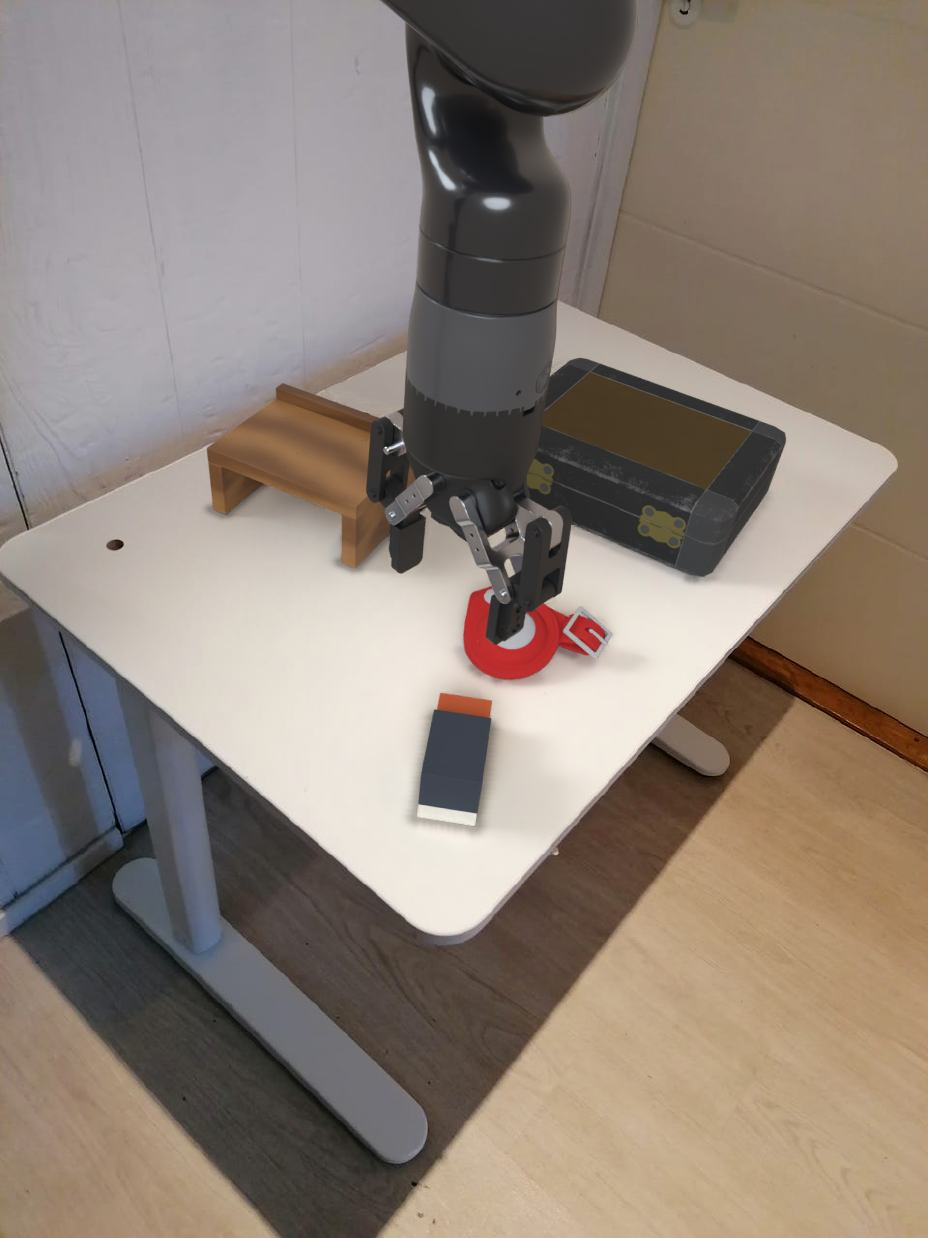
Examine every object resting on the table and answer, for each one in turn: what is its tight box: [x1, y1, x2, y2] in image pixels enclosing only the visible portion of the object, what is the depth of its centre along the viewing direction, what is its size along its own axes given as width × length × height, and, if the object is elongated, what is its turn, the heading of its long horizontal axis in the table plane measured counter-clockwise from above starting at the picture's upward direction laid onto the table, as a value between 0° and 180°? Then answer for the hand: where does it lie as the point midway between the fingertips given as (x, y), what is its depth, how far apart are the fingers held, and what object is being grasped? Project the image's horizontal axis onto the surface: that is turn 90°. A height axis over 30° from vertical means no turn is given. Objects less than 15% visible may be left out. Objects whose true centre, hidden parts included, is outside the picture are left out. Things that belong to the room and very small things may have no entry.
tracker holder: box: [462, 585, 614, 681], centre depth 83 cm, size 12×4×10 cm
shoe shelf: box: [206, 382, 416, 569], centre depth 92 cm, size 12×16×8 cm
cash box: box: [527, 357, 787, 578], centre depth 100 cm, size 25×20×8 cm
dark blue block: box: [416, 692, 493, 827], centre depth 71 cm, size 10×4×5 cm, turn 173°
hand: (452, 600), depth 61 cm, fingers open, 8 cm apart
